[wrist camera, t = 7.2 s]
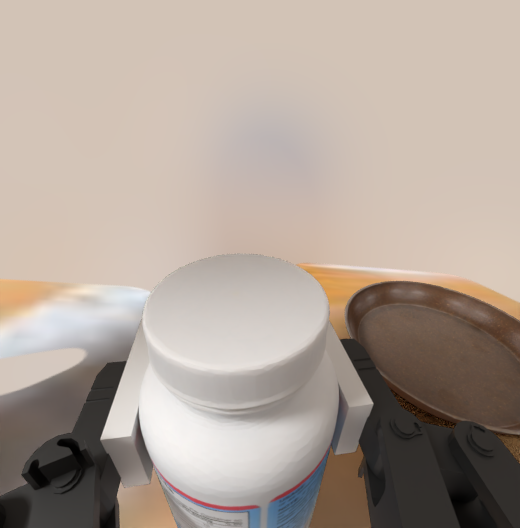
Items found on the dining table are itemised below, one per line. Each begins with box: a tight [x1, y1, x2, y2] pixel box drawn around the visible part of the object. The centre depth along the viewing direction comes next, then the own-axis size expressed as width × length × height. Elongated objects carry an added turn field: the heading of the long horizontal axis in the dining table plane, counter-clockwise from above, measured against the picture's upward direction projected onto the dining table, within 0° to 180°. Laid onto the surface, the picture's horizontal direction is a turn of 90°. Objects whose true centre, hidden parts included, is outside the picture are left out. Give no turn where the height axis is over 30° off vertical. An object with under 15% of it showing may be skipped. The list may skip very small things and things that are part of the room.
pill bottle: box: [139, 254, 339, 528], centre depth 10 cm, size 6×6×11 cm
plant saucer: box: [345, 281, 520, 435], centre depth 25 cm, size 18×18×3 cm
